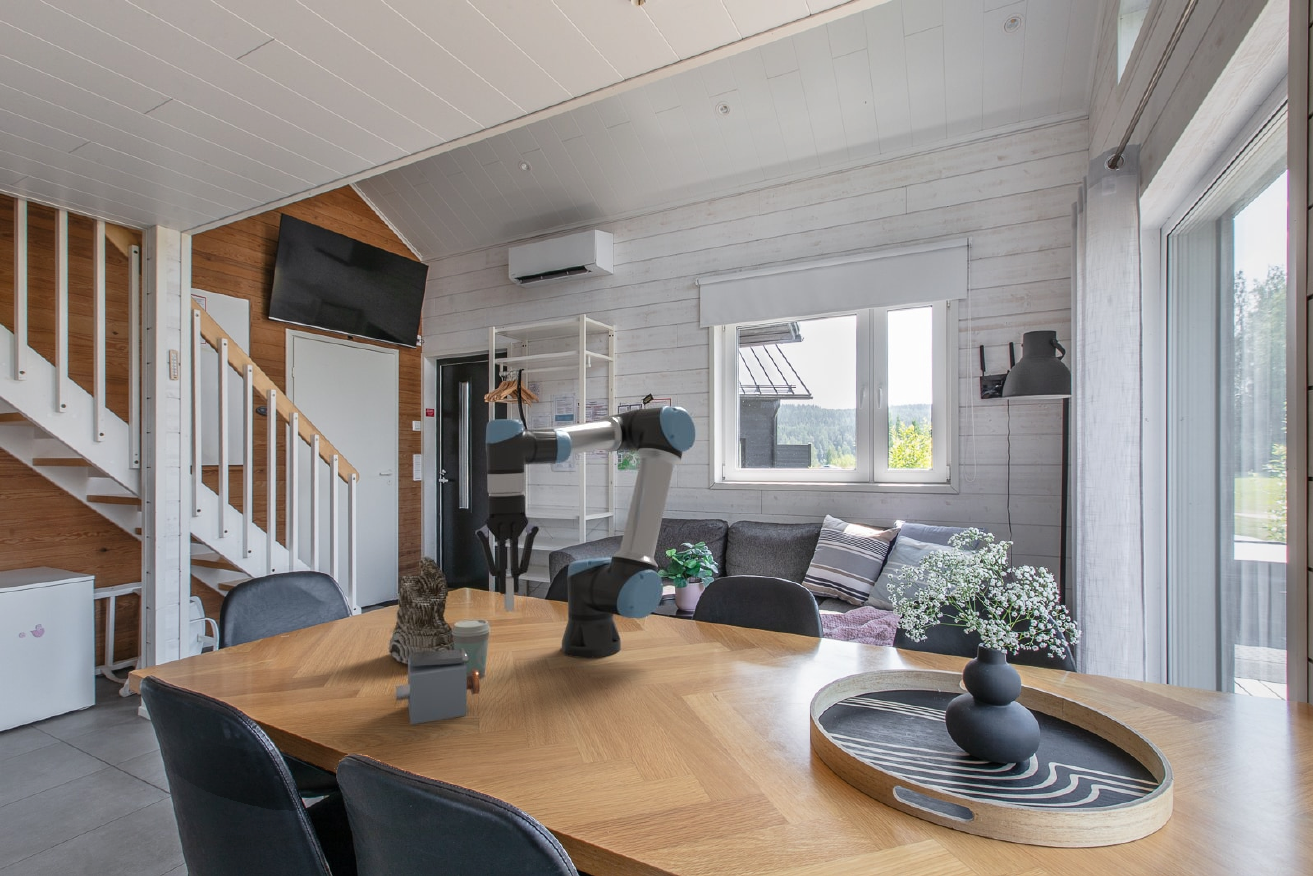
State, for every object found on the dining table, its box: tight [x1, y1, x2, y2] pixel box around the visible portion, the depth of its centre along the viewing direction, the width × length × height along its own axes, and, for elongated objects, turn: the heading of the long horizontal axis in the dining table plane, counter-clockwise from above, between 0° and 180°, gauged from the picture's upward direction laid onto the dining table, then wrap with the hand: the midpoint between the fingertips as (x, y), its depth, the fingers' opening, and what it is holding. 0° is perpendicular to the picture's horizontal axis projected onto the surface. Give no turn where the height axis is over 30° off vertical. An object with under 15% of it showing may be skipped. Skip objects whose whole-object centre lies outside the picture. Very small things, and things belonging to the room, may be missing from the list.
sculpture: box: [388, 555, 455, 665], centre depth 161 cm, size 20×14×25 cm
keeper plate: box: [409, 648, 469, 666], centre depth 127 cm, size 11×6×1 cm, turn 114°
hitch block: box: [407, 661, 468, 725], centre depth 127 cm, size 10×10×9 cm
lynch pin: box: [395, 669, 481, 701], centre depth 127 cm, size 15×5×5 cm, turn 114°
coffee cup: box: [452, 618, 492, 680], centre depth 147 cm, size 8×8×12 cm
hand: (509, 609), depth 133 cm, fingers closed
